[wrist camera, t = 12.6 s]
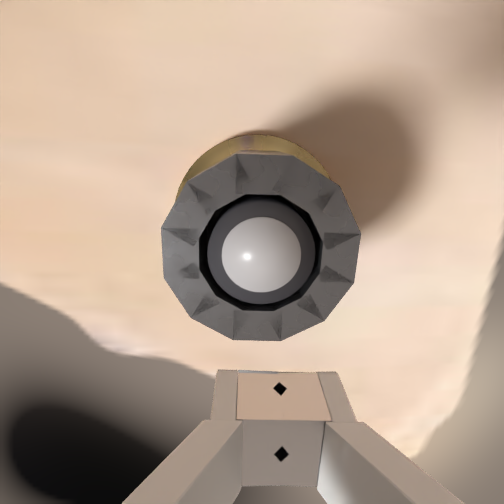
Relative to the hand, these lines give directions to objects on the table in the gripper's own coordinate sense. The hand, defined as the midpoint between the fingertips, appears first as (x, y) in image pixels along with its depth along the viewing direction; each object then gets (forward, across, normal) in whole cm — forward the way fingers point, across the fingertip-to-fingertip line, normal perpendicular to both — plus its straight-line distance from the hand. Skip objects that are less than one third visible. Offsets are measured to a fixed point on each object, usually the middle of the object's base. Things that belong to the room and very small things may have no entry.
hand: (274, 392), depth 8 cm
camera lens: (+14, 0, 0) cm, 15 cm away
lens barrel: (+19, 0, 0) cm, 19 cm away
